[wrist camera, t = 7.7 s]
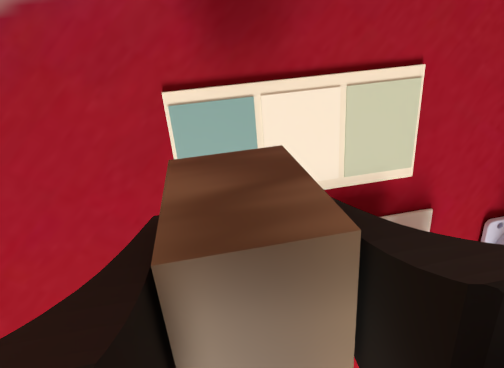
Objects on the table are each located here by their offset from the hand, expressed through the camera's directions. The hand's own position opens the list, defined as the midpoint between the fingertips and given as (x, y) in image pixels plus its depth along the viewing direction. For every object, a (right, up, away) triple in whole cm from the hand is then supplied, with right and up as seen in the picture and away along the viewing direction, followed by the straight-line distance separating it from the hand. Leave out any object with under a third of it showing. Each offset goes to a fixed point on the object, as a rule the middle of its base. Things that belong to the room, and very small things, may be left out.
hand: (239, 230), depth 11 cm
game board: (+3, +4, +9) cm, 11 cm away
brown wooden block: (0, +1, +2) cm, 2 cm away
